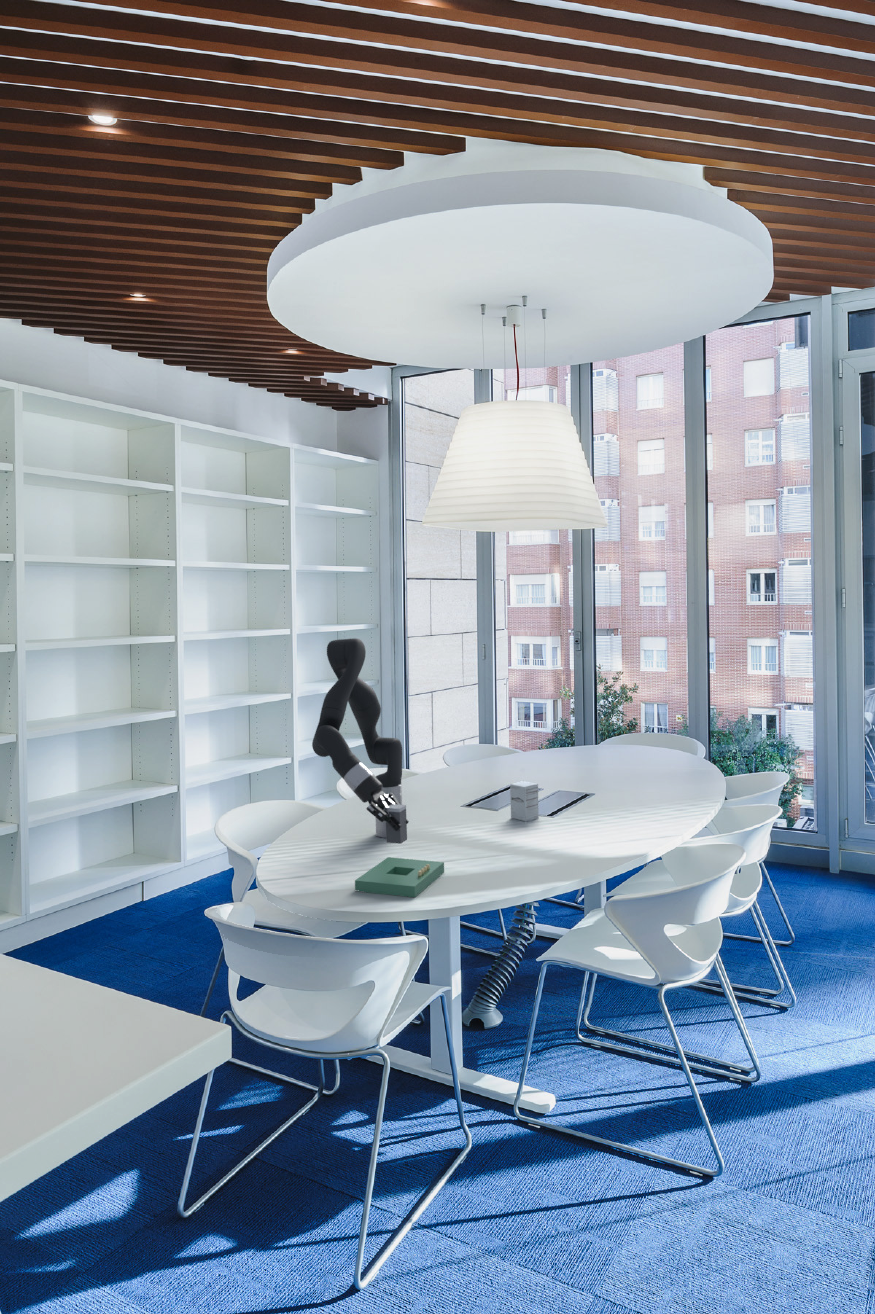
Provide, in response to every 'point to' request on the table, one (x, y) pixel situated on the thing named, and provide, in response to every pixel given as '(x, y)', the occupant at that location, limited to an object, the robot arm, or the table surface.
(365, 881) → the socket board
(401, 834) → the black plug
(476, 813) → the table surface
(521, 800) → the supplement box
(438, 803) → the table surface
